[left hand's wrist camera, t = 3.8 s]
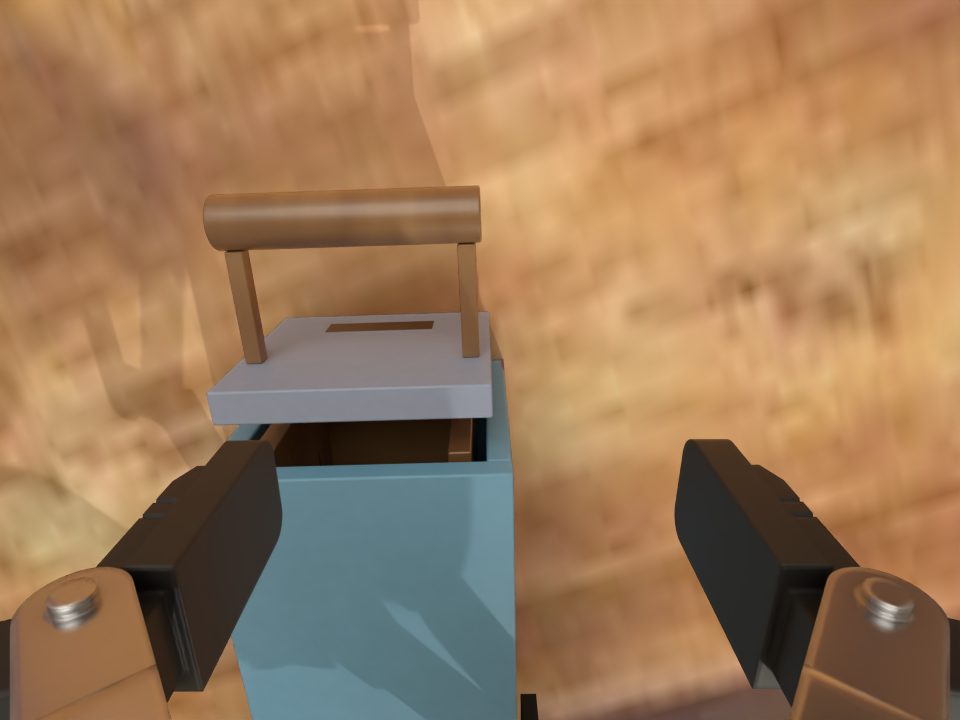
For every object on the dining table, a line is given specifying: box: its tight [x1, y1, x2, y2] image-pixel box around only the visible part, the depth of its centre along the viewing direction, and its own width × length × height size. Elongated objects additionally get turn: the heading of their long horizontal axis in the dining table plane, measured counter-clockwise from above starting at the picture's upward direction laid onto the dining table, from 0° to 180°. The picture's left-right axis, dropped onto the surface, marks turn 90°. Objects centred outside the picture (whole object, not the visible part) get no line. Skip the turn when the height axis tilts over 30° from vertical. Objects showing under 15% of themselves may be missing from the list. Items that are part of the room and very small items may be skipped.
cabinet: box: [227, 359, 517, 720], centre depth 27 cm, size 20×10×10 cm, turn 2°
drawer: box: [203, 186, 493, 467], centre depth 24 cm, size 25×9×8 cm, turn 2°
